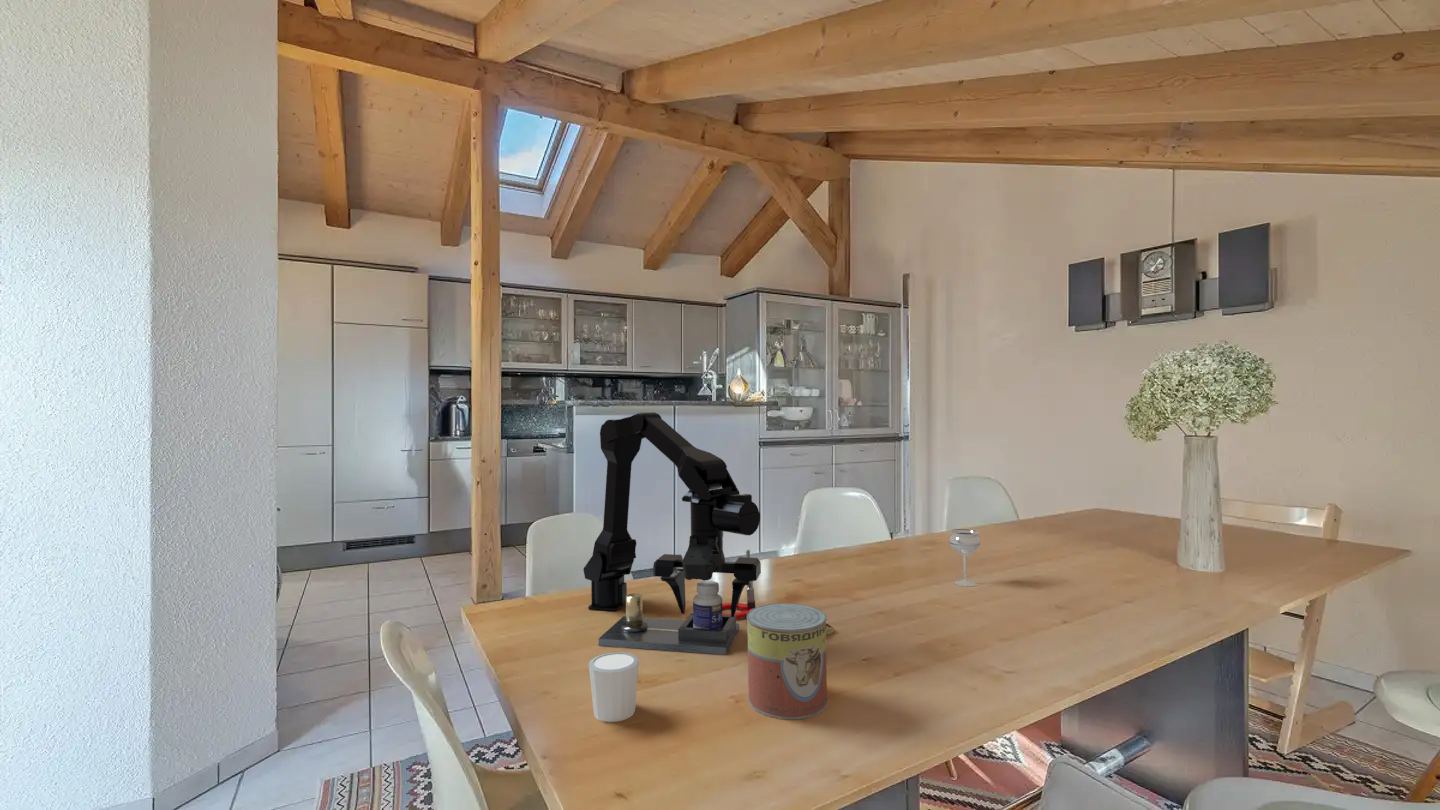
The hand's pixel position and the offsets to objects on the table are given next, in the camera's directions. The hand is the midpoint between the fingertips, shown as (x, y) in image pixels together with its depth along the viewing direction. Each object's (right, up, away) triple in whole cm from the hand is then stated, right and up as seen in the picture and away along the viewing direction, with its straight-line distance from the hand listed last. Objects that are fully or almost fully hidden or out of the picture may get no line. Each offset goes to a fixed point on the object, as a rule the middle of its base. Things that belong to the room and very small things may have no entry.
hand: (707, 614), depth 112 cm
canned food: (+12, -5, -23) cm, 26 cm away
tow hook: (+5, -5, +14) cm, 16 cm away
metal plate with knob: (-7, -5, +2) cm, 8 cm away
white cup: (-12, -5, -26) cm, 29 cm away
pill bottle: (0, -4, 0) cm, 4 cm away
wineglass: (+59, -4, +33) cm, 68 cm away
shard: (+18, -5, +5) cm, 19 cm away
